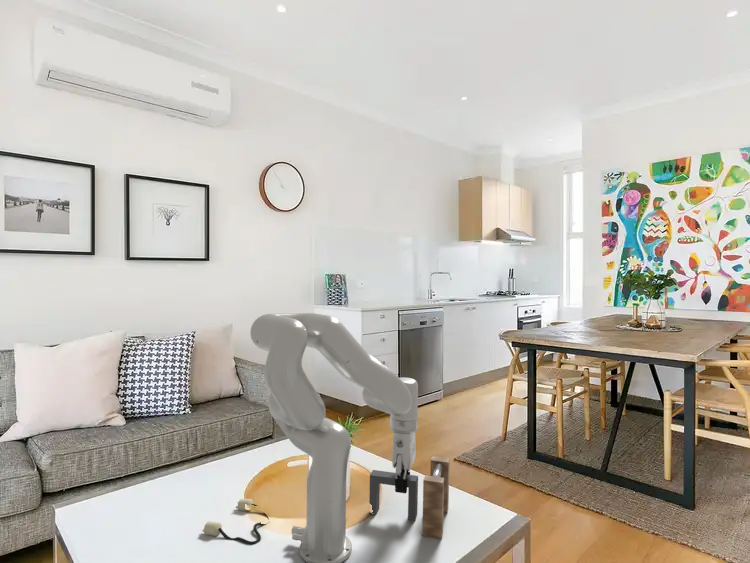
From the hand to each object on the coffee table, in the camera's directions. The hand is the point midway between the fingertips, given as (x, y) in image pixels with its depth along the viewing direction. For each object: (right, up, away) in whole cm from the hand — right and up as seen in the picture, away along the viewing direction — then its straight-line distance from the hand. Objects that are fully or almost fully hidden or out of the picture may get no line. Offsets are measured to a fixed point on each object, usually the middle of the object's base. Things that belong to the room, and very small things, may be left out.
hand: (402, 488), depth 129 cm
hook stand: (+9, -8, -2) cm, 12 cm away
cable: (-42, -8, -5) cm, 43 cm away
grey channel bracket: (-3, -8, +1) cm, 8 cm away
